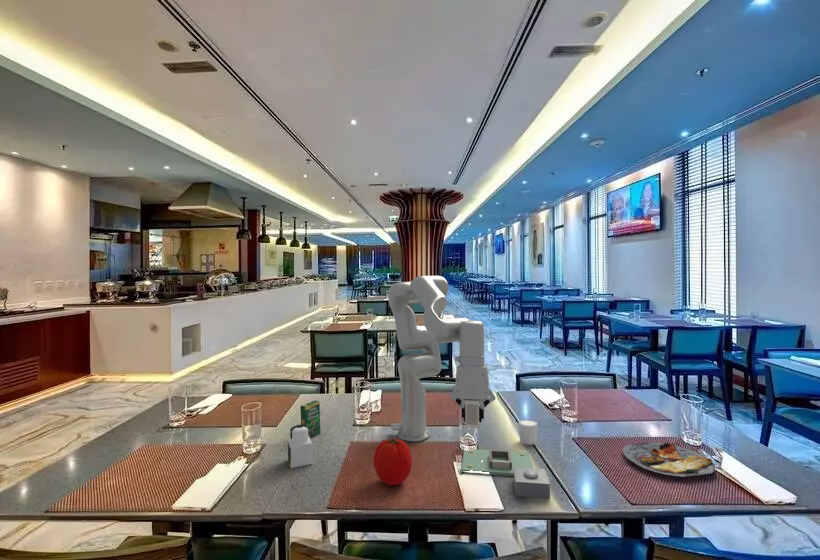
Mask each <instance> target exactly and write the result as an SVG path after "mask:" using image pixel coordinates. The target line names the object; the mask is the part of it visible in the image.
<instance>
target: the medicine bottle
mask: <svg viewBox="0 0 820 560" xmlns="http://www.w3.org/2000/svg"><path fill="white" fill-rule="evenodd" d="M289 430H290V433H289V434H290V435H289V437H290V438H289V439H287V461H288V464H289V467H290V468H291V469H294V468H300V467H305V466H306V467H307V466H310V464H311V465H313V442H312V440H311V438H309V427H308V426H307V425H301V424H296V425H294V426H292V427H291V428H290V429H289Z"/></svg>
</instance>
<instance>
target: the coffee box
mask: <svg viewBox="0 0 820 560" xmlns="http://www.w3.org/2000/svg"><path fill="white" fill-rule="evenodd" d="M320 403H321V401H320V400H316V399H315V400H313V401H310V402H308V403H305V404H302V405H300V407H299V408H300V425H307V426H308V427H309V438H310V437H311V438H313V437H315V435H316V436H318V435H320V434H321V412H320V410H321V409H320V408H321V406H320V405H321V404H320ZM317 434H318V435H317ZM311 438H310V439H311Z"/></svg>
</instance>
